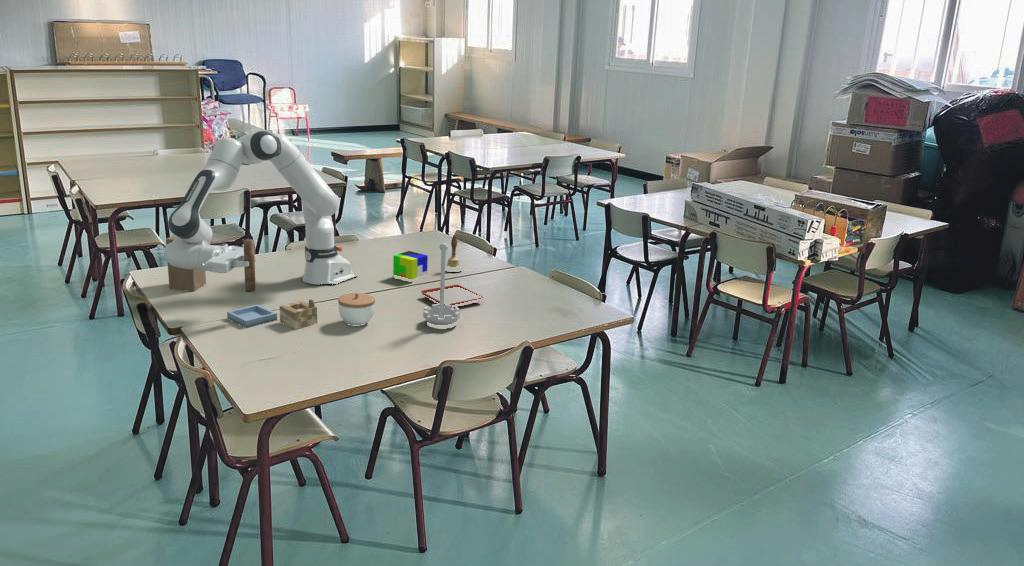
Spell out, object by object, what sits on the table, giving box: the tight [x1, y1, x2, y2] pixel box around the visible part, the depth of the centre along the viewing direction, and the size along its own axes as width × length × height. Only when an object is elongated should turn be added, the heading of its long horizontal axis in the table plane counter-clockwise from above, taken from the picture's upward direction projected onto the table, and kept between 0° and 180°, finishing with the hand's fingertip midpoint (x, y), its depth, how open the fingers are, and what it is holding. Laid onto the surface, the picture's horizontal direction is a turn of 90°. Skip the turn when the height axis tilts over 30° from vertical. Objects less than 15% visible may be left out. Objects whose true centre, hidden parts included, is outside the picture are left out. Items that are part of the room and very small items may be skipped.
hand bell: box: [446, 234, 460, 267], centre depth 343 cm, size 8×8×16 cm
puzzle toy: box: [392, 250, 429, 279], centre depth 330 cm, size 10×10×10 cm
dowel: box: [242, 238, 257, 293], centre depth 270 cm, size 3×3×18 cm
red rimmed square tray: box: [420, 284, 484, 306], centre depth 306 cm, size 18×18×3 cm
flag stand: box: [422, 242, 461, 325], centre depth 278 cm, size 13×13×30 cm
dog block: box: [279, 298, 318, 330], centre depth 274 cm, size 9×9×8 cm
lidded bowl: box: [337, 292, 376, 325], centre depth 276 cm, size 13×13×11 cm
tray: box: [226, 304, 278, 329], centre depth 275 cm, size 12×12×2 cm
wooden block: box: [165, 234, 207, 292], centre depth 301 cm, size 10×10×20 cm
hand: (251, 262), depth 269 cm, fingers closed on dowel, 3 cm apart
